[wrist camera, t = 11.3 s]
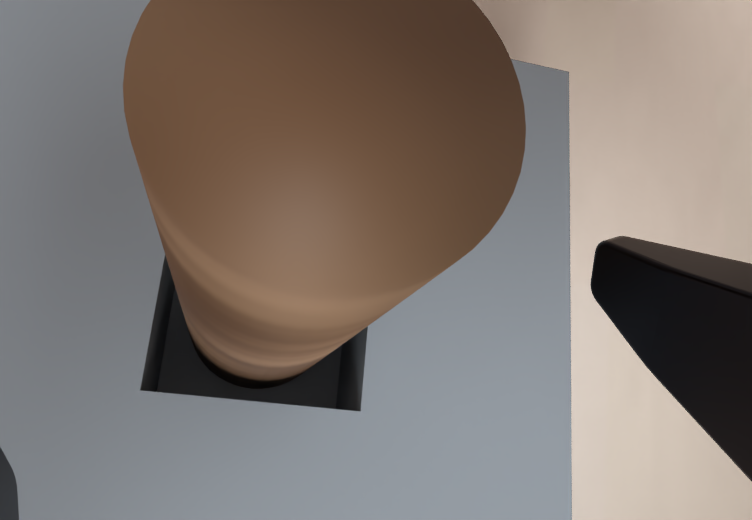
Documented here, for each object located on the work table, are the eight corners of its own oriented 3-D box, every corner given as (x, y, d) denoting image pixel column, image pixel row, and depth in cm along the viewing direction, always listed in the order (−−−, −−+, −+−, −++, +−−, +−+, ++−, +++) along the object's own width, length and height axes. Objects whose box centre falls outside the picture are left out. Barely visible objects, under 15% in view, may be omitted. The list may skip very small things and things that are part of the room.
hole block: (493, 623, 19) (572, 679, 14) (-114, 606, 15) (-240, 672, 11) (505, 137, 23) (568, 72, 19) (37, 46, 20) (-12, -57, 16)
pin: (354, 327, 19) (597, 138, 7) (249, 418, 18) (318, 387, 5) (269, 227, 19) (356, -131, 7) (159, 310, 18) (26, 43, 6)
